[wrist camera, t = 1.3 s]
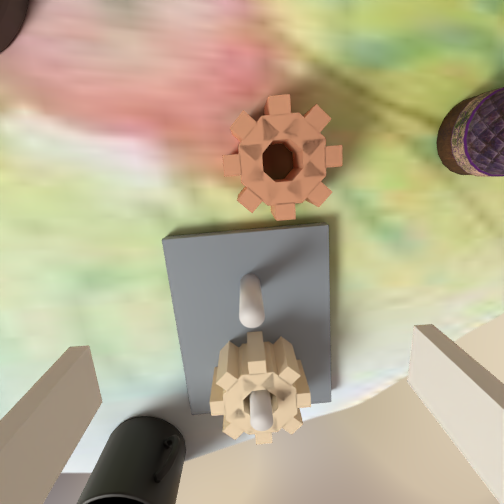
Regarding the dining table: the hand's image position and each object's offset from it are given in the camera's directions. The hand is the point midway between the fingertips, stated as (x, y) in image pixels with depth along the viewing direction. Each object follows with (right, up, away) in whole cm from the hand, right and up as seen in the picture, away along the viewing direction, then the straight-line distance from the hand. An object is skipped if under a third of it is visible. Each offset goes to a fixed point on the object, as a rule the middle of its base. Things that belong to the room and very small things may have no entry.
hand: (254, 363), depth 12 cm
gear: (+2, +13, +16) cm, 21 cm away
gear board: (0, -3, +21) cm, 21 cm away
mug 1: (-12, -19, +25) cm, 33 cm away
